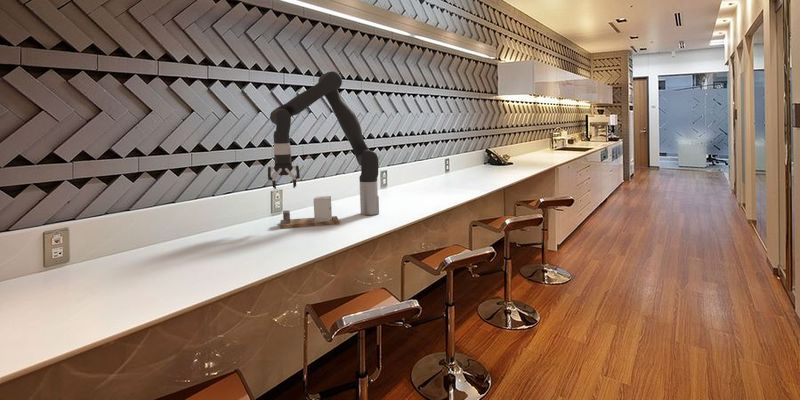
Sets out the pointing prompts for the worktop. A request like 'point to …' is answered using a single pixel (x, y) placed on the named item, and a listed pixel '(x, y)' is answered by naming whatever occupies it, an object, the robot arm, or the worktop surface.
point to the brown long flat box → (303, 221)
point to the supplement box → (322, 209)
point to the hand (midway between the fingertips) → (284, 188)
